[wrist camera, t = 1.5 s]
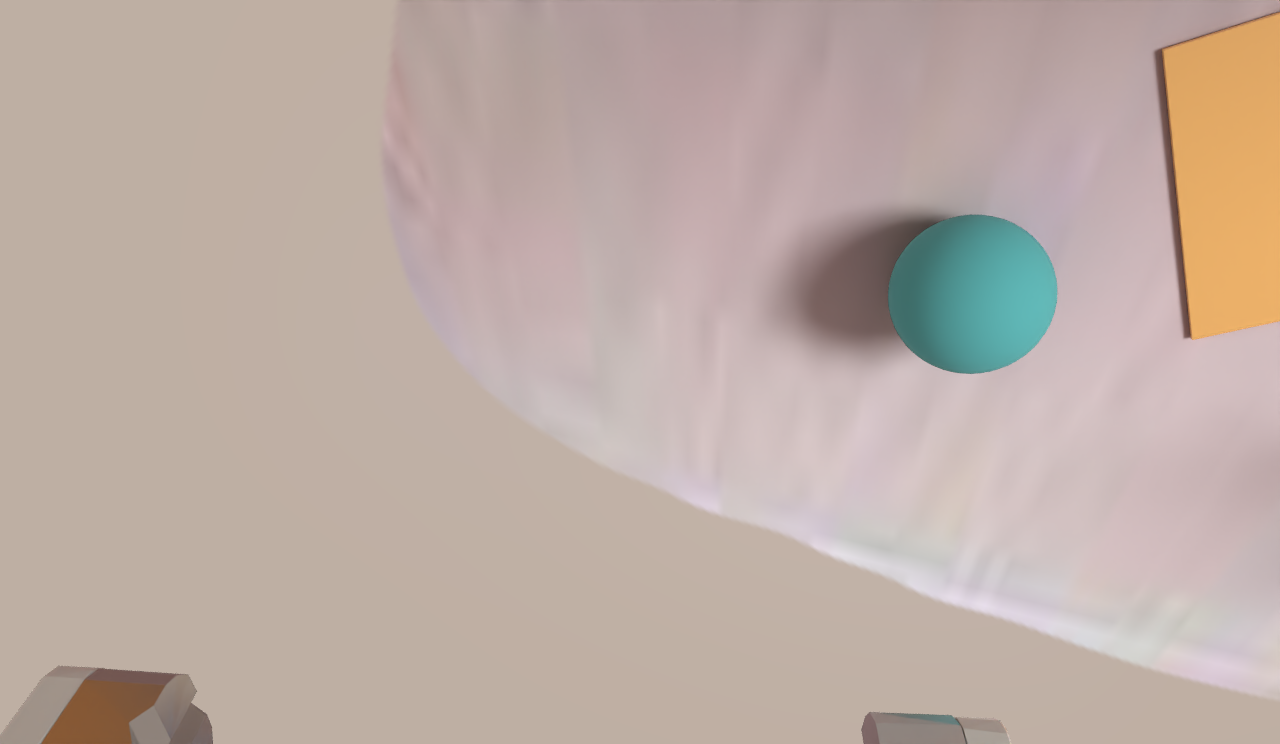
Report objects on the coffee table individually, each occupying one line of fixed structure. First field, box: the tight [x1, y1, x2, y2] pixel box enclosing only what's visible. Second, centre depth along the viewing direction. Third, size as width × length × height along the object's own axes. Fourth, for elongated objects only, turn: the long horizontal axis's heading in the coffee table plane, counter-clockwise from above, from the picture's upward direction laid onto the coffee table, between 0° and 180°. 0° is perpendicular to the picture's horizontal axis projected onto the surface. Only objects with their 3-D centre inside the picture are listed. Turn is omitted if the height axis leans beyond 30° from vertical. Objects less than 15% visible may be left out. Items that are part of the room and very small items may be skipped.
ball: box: [888, 215, 1057, 374], centre depth 33 cm, size 6×6×6 cm
